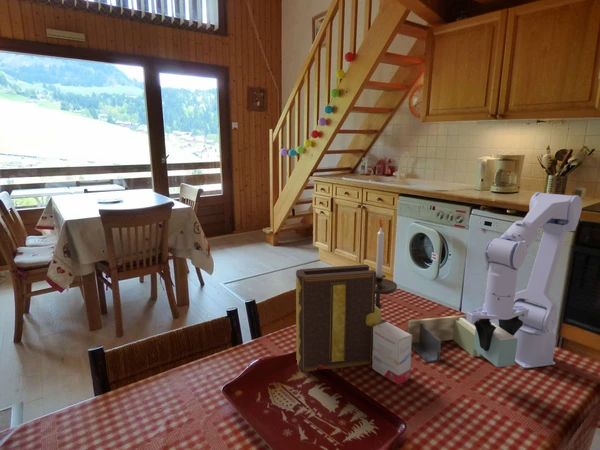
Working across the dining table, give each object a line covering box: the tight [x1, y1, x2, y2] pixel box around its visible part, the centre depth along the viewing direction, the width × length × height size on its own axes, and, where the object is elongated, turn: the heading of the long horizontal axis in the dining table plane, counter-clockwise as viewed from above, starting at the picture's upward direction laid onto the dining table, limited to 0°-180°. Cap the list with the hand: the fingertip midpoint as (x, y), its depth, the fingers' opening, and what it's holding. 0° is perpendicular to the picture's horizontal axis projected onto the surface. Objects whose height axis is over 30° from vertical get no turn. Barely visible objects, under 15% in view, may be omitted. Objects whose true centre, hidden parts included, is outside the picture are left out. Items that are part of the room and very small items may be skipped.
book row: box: [452, 318, 484, 357], centre depth 103 cm, size 3×9×7 cm, turn 11°
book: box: [295, 264, 383, 373], centre depth 95 cm, size 22×8×25 cm, turn 102°
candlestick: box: [375, 217, 398, 325], centre depth 112 cm, size 11×11×35 cm
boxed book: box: [474, 321, 518, 368], centre depth 85 cm, size 4×8×6 cm, turn 12°
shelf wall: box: [407, 314, 467, 343], centre depth 107 cm, size 18×1×7 cm, turn 101°
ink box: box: [372, 321, 412, 386], centre depth 91 cm, size 9×5×12 cm, turn 33°
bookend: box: [411, 324, 442, 363], centre depth 101 cm, size 4×9×6 cm, turn 11°
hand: (493, 347), depth 85 cm, fingers closed on boxed book, 4 cm apart
